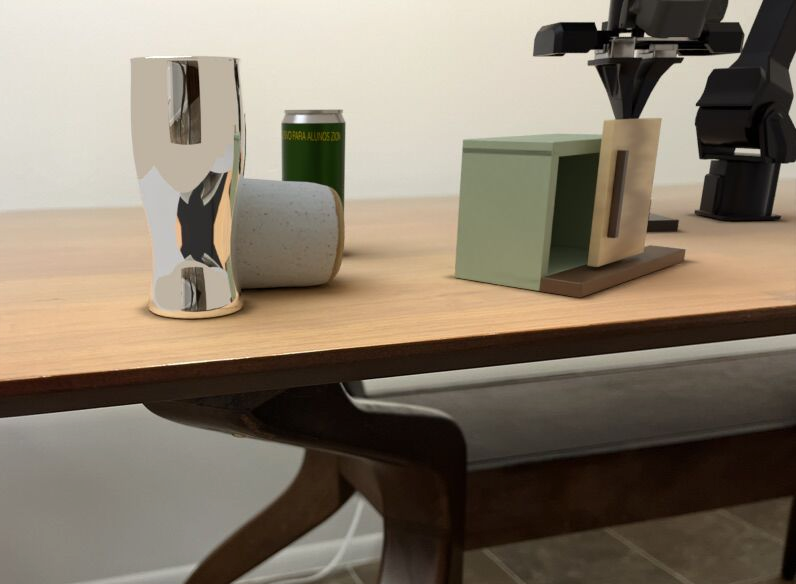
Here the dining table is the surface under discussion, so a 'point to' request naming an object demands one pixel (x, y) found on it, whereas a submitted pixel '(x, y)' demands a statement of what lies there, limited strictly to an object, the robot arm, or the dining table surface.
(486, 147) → the cabinet
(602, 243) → the door
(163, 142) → the beer glass
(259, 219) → the ceramic mug
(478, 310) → the dining table surface
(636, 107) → the robot arm
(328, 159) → the beer can
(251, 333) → the dining table surface
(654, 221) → the block
